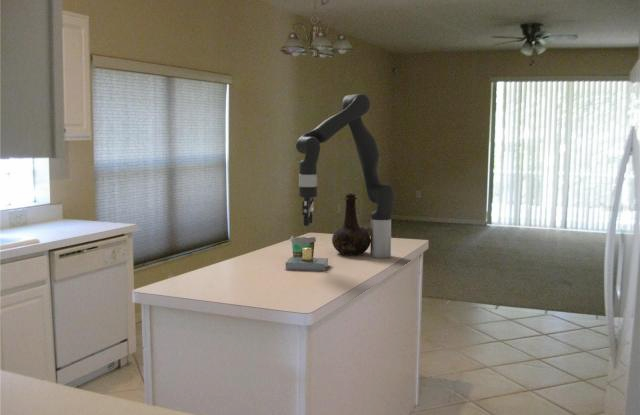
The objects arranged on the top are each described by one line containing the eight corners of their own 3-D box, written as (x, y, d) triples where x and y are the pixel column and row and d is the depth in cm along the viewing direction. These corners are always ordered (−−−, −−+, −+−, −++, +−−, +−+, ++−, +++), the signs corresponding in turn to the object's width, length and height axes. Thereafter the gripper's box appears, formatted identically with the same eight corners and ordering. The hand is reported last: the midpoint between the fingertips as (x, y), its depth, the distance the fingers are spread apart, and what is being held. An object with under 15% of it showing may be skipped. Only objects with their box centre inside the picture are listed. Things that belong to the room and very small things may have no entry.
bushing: (312, 266, 268) (312, 247, 267) (311, 268, 264) (311, 249, 263) (303, 266, 269) (303, 247, 268) (301, 268, 265) (301, 249, 264)
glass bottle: (376, 255, 294) (377, 195, 291) (341, 258, 287) (341, 196, 284) (360, 249, 310) (360, 192, 307) (326, 251, 304) (326, 193, 301)
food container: (285, 258, 285) (285, 236, 284) (292, 256, 291) (292, 234, 289) (309, 261, 279) (309, 238, 278) (315, 259, 285) (316, 236, 284)
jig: (328, 265, 271) (328, 258, 271) (324, 270, 259) (324, 263, 259) (291, 263, 273) (291, 257, 273) (285, 269, 262) (285, 262, 261)
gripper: (314, 186, 256) (314, 226, 257) (319, 184, 270) (319, 222, 271) (296, 186, 257) (296, 226, 258) (302, 184, 271) (302, 221, 273)
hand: (308, 224), depth 265 cm, fingers open, 8 cm apart
